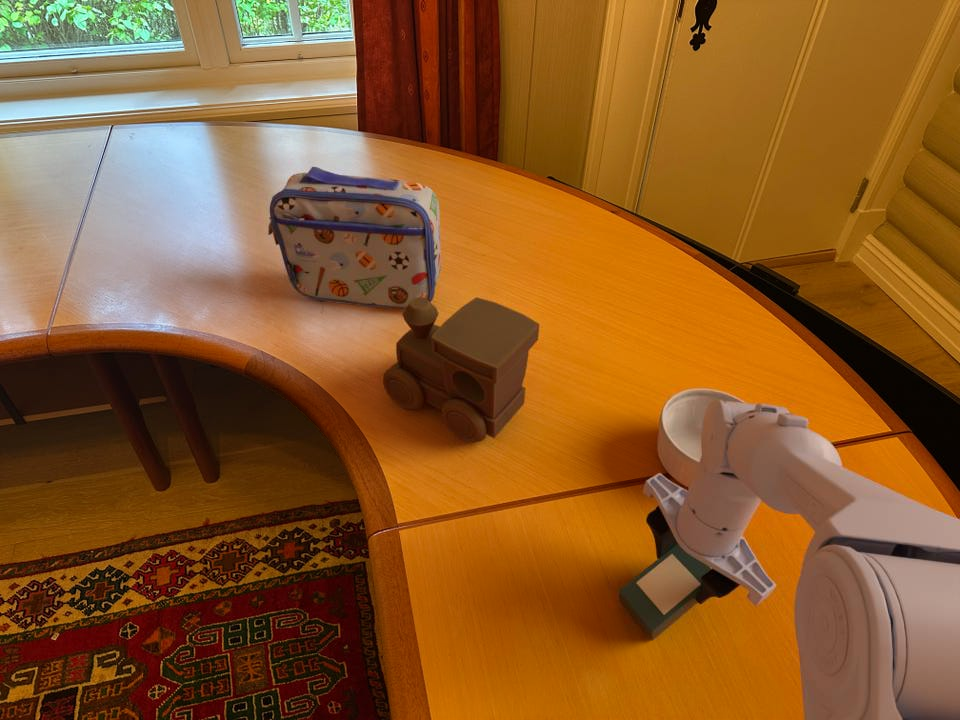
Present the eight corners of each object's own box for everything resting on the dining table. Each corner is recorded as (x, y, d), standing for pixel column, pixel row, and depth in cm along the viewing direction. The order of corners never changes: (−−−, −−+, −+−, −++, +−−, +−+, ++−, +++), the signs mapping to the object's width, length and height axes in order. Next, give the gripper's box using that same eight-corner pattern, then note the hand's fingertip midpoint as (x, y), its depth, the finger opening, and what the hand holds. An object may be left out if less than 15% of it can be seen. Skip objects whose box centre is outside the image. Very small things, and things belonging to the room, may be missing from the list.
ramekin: (766, 450, 81) (784, 415, 76) (736, 522, 73) (754, 488, 68) (671, 408, 86) (683, 373, 81) (633, 471, 78) (643, 436, 73)
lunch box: (278, 304, 104) (244, 185, 88) (300, 270, 111) (272, 154, 96) (436, 319, 101) (428, 199, 86) (447, 283, 108) (442, 166, 93)
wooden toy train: (536, 409, 86) (544, 318, 75) (491, 462, 79) (493, 371, 68) (426, 354, 94) (418, 265, 83) (376, 398, 87) (361, 308, 76)
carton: (681, 551, 67) (682, 538, 65) (715, 587, 64) (719, 576, 62) (619, 601, 65) (618, 590, 63) (651, 641, 62) (652, 631, 60)
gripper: (817, 542, 52) (766, 612, 61) (690, 432, 61) (662, 508, 70) (762, 585, 49) (717, 651, 58) (638, 463, 58) (616, 537, 67)
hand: (684, 575), depth 64 cm, fingers closed on carton, 5 cm apart
